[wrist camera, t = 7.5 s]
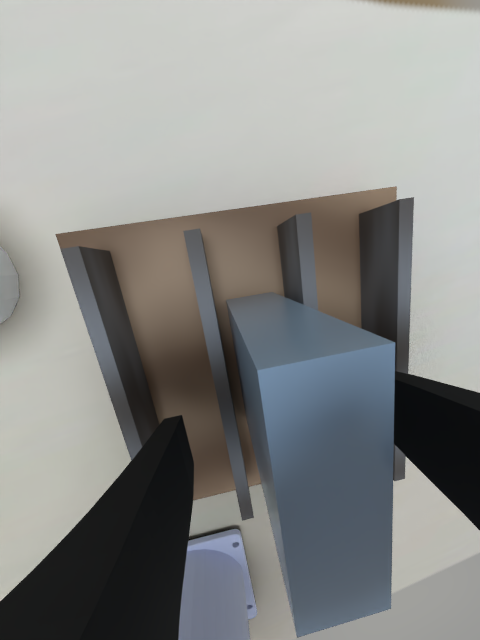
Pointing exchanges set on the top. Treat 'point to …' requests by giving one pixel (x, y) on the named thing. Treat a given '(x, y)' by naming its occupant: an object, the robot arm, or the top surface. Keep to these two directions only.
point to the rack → (212, 314)
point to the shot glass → (7, 286)
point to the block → (321, 453)
